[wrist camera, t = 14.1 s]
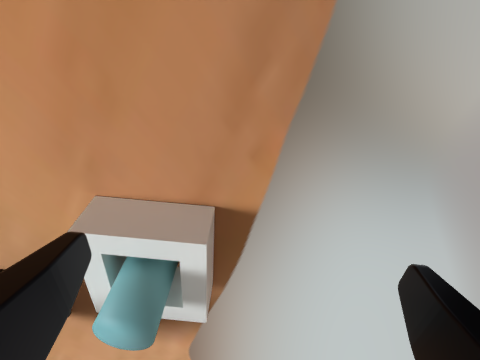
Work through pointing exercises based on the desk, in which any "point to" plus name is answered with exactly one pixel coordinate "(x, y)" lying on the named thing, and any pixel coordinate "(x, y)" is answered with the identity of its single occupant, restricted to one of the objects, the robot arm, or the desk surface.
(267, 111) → the desk surface
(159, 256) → the socket
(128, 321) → the peg
